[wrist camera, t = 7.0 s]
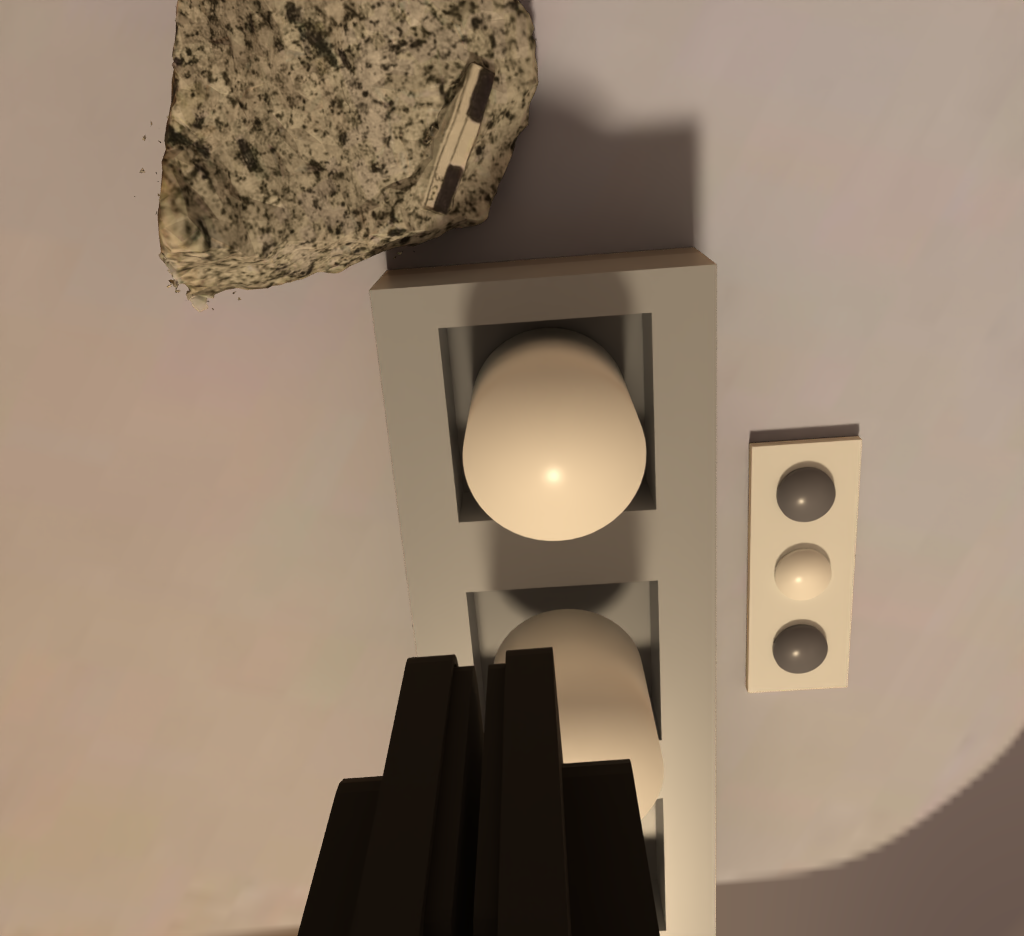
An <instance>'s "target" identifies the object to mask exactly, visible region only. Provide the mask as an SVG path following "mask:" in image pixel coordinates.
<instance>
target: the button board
mask: <svg viewBox="0 0 1024 936" xmlns="http://www.w3.org/2000/svg"><path fill="white" fill-rule="evenodd" d="M369 293H370V300H371V308H372V316H373V323H374V331H375V339H376V346H377V354H378V362H379V369H380V377H381V385H382V392H383V400H384V408H385V415H386V423H387V431H388V438H389V446H390V454H391V462H392V469H393V477H394V485H395V492H396V500H397V508H398V515H399V523H400V531H401V538H402V546H403V554H404V561H405V569H406V577H407V584H408V592H409V600H410V607H411V615H412V623H413V630H414V638H415V646H416V653H417V657H425V656H438V655H451V654H455V655H456V657H457V661H458V666H459V667H460V666H474V667H475V670H476V676H477V683H478V691H479V699H480V707H481V715H482V723H483V731H484V726H485V709H486V692H487V675H488V665H489V664H494V660H495V656H496V653H497V651H498V649H499V647H500V645H501V644H502V642H503V641H504V639H505V638H506V637H507V636H508V634H509V633H510V632H511V631H512V630H513V629H514V628H516V627H517V626H518V625H519V624H521V623H522V622H524V621H525V620H527V619H529V618H531V617H533V616H535V615H538V614H541V613H544V612H548V611H552V610H559V609H578V610H585V611H589V612H594V613H596V614H599V615H602V616H604V617H606V618H608V619H610V620H612V621H613V622H614V623H616V624H617V625H619V626H620V627H621V628H622V629H623V630H624V631H626V633H627V634H628V635H629V636H630V637H631V639H632V640H633V642H634V643H635V645H636V647H637V649H638V651H639V654H640V657H641V661H642V666H643V670H644V675H645V679H646V684H647V689H648V693H649V698H650V702H651V707H652V712H653V716H654V721H655V725H656V730H657V734H658V739H659V744H660V748H661V753H662V757H663V764H664V778H663V783H662V788H661V791H660V793H659V796H658V798H657V800H656V802H655V803H654V805H653V807H652V808H651V809H650V810H649V812H648V813H647V814H646V815H645V816H644V817H643V818H642V819H641V824H642V830H643V836H644V842H645V848H646V854H647V860H648V866H649V872H650V878H651V884H652V890H653V896H654V902H655V908H656V914H657V920H658V926H659V932H660V936H716V371H717V264H716V263H714V262H713V261H712V260H710V259H709V258H708V257H707V256H705V255H704V254H703V253H701V252H700V251H699V250H697V249H696V248H695V247H686V248H673V249H659V250H646V251H633V252H620V253H607V254H594V255H580V256H567V257H554V258H541V259H528V260H514V261H501V262H488V263H475V264H462V265H449V266H435V267H422V268H409V269H396V270H387V271H386V272H385V273H384V274H383V275H382V276H381V277H380V279H379V280H378V281H377V282H376V283H375V284H374V285H373V287H372V288H371V289H370V290H369ZM540 328H560V329H567V330H571V331H575V332H577V333H580V334H582V335H585V336H587V337H588V338H590V339H592V340H594V341H595V342H596V343H598V344H599V345H600V346H602V347H603V348H604V349H605V350H606V351H607V352H608V353H609V354H610V356H611V357H612V358H613V360H614V361H615V362H616V364H617V366H618V368H619V369H620V372H621V374H622V377H623V379H624V382H625V384H626V387H627V390H628V392H629V395H630V397H631V400H632V403H633V405H634V408H635V410H636V413H637V416H638V418H639V421H640V424H641V426H642V429H643V433H644V437H645V442H646V465H645V470H644V475H643V478H642V481H641V484H640V486H639V488H638V490H637V492H636V494H635V496H634V498H633V499H632V501H631V502H630V504H629V505H628V506H627V507H626V508H625V510H624V511H623V512H622V513H621V514H620V515H619V516H618V517H616V518H615V519H614V520H613V521H612V522H610V523H609V524H607V525H606V526H604V527H603V528H601V529H599V530H597V531H595V532H593V533H591V534H588V535H585V536H583V537H579V538H575V539H570V540H562V541H545V540H536V539H532V538H528V537H524V536H522V535H519V534H516V533H514V532H512V531H510V530H508V529H506V528H504V527H503V526H501V525H500V524H498V523H497V522H496V521H494V520H493V519H492V518H491V517H490V516H489V515H488V514H486V512H485V511H484V510H483V509H482V508H481V507H480V505H479V504H478V502H477V501H476V499H475V498H474V496H473V494H472V492H471V490H470V488H469V486H468V483H467V480H466V477H465V473H464V467H463V445H464V438H465V432H466V427H467V421H468V416H469V410H470V405H471V399H472V393H473V389H474V385H475V381H476V378H477V376H478V373H479V371H480V369H481V367H482V366H483V364H484V362H485V361H486V360H487V358H488V357H489V356H490V355H491V354H492V352H493V351H494V350H495V349H496V348H497V347H499V346H500V345H501V344H503V343H504V342H505V341H507V340H509V339H510V338H512V337H514V336H516V335H518V334H521V333H523V332H526V331H530V330H534V329H540Z"/></svg>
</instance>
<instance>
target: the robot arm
mask: <svg viewBox="0 0 1024 936" xmlns="http://www.w3.org/2000/svg"><path fill="white" fill-rule="evenodd" d="M298 936H660V932H659V926H658V920H657V914H656V908H655V902H654V896H653V890H652V884H651V878H650V872H649V866H648V860H647V854H646V848H645V842H644V836H643V830H642V824H641V818H640V812H639V806H638V800H637V794H636V788H635V782H634V776H633V770H632V765H631V761H630V759H619V760H605V761H591V762H577V763H563V754H562V743H561V732H560V721H559V710H558V699H557V688H556V677H555V666H554V655H553V647H544V648H531V649H518V650H506V657H505V663H500V664H489V665H488V675H487V692H486V709H485V726H484V731H483V723H482V715H481V707H480V699H479V691H478V683H477V676H476V670H475V667H474V666H460V667H459V666H458V661H457V657H456V655H455V654H451V655H438V656H425V657H412V658H408V659H407V662H406V666H405V671H404V676H403V681H402V686H401V690H400V695H399V700H398V705H397V710H396V715H395V720H394V724H393V729H392V734H391V739H390V744H389V749H388V754H387V758H386V763H385V768H384V773H383V776H377V777H363V778H348V779H343V780H342V781H341V782H340V783H339V786H338V789H337V791H336V794H335V798H334V802H333V806H332V809H331V813H330V817H329V820H328V824H327V828H326V832H325V835H324V839H323V843H322V846H321V850H320V854H319V858H318V861H317V865H316V869H315V872H314V876H313V880H312V884H311V887H310V891H309V895H308V899H307V902H306V906H305V910H304V913H303V917H302V921H301V925H300V928H299V932H298Z"/></svg>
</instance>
